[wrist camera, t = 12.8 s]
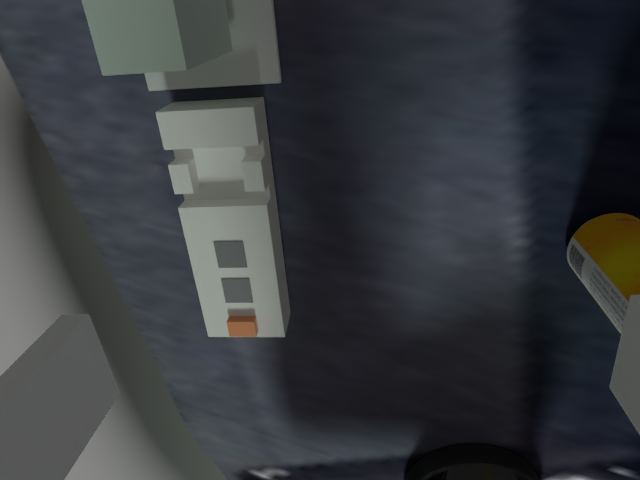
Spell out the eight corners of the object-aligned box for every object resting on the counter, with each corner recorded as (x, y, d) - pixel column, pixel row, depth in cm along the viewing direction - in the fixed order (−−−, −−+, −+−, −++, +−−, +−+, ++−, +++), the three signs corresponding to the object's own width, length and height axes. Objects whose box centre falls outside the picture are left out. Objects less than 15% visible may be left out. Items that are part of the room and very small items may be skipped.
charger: (238, 48, 32) (186, 70, 23) (176, 52, 33) (102, 75, 24) (226, -34, 30) (163, -47, 21) (160, -28, 30) (71, -38, 21)
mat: (281, 81, 34) (280, 82, 33) (152, 89, 35) (148, 91, 34) (264, -84, 29) (262, -85, 28) (115, -69, 30) (110, -70, 30)
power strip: (290, 312, 44) (283, 343, 40) (219, 313, 44) (205, 342, 41) (263, 96, 34) (250, 109, 30) (173, 101, 35) (150, 114, 31)
